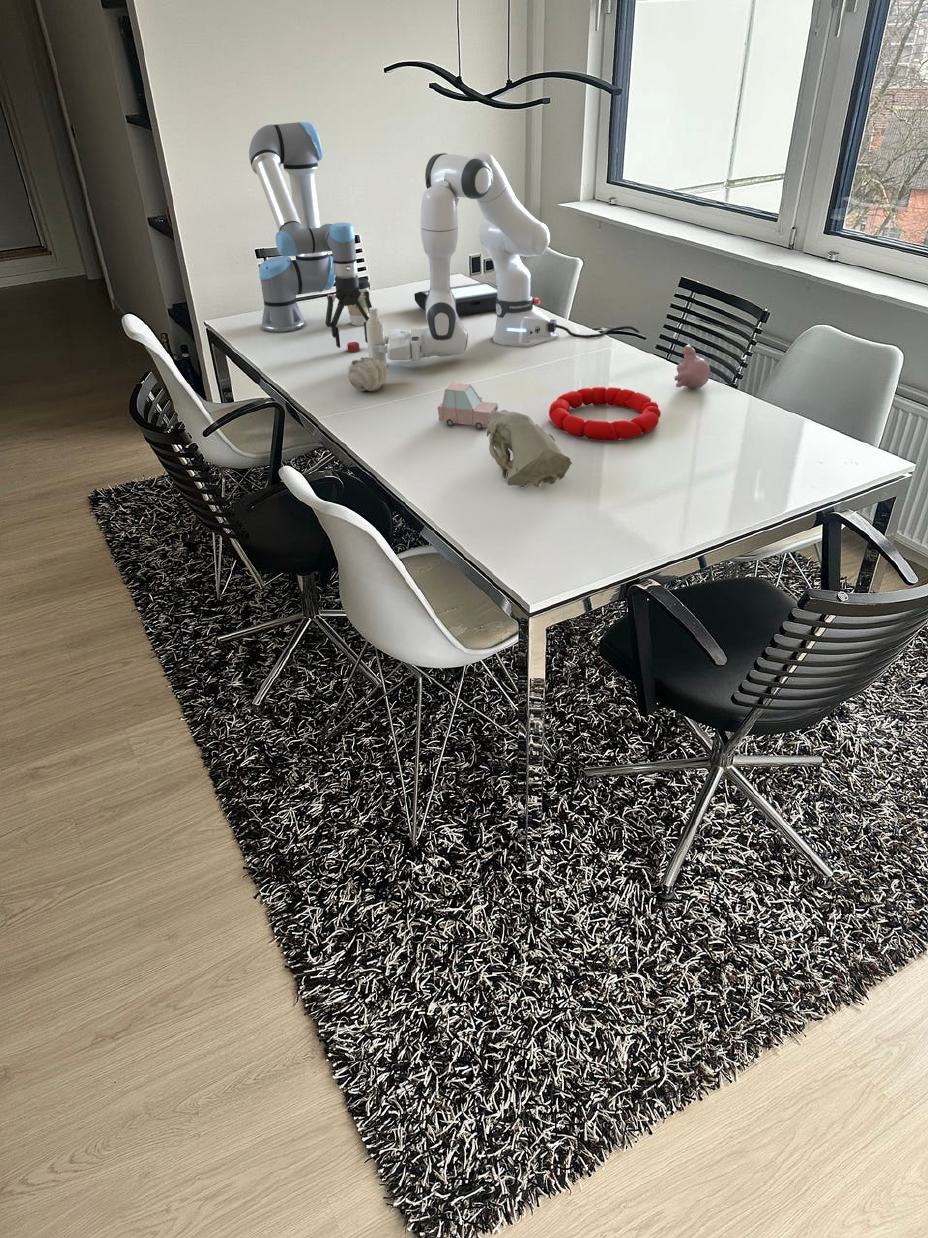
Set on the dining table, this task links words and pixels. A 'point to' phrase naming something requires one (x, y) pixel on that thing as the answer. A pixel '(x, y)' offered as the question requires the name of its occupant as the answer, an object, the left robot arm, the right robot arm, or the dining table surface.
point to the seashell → (367, 374)
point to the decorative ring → (604, 428)
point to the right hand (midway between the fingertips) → (373, 344)
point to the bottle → (375, 335)
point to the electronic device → (468, 298)
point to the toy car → (465, 406)
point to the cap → (353, 346)
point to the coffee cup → (353, 310)
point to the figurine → (692, 370)
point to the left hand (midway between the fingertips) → (353, 344)
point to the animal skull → (525, 450)
